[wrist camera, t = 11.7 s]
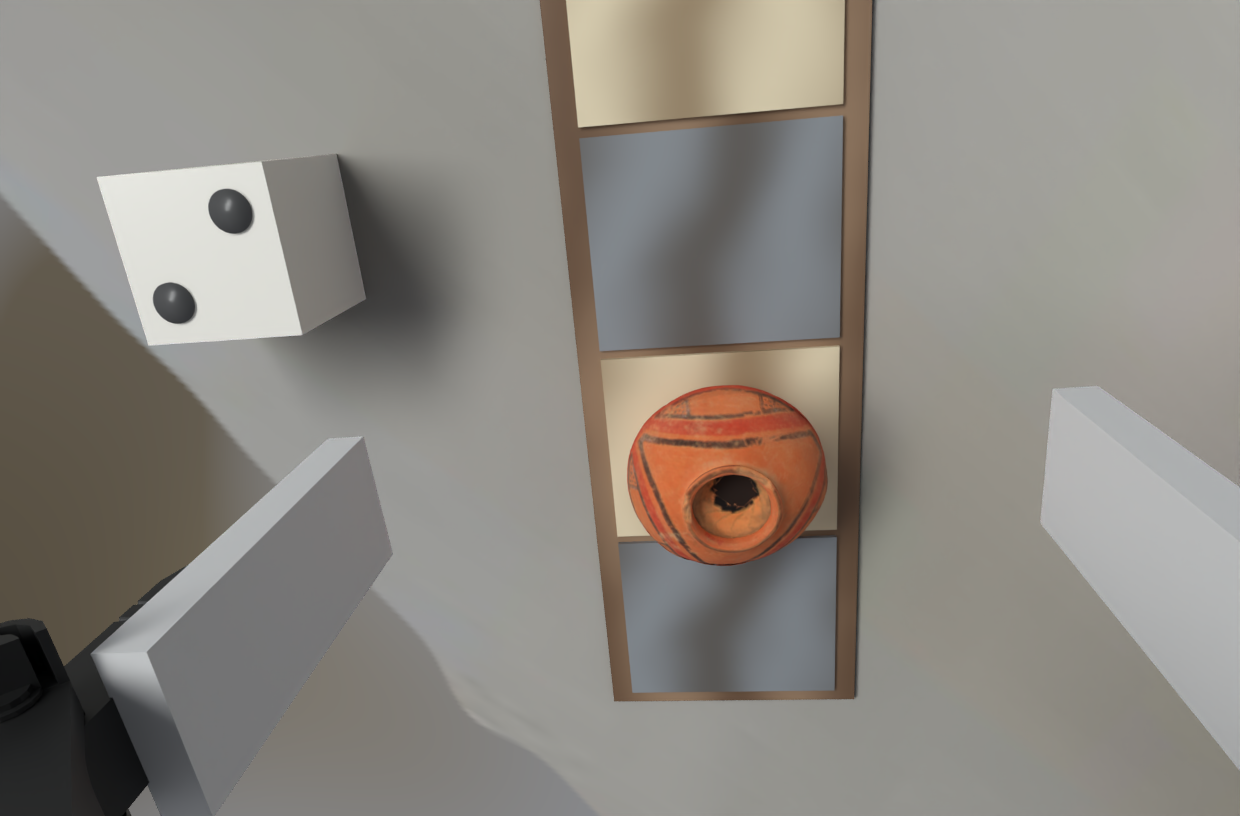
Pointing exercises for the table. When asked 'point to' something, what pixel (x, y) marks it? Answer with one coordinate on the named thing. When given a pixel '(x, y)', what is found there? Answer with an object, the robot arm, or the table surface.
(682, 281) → the board
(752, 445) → the pot
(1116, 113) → the table surface
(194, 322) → the die
